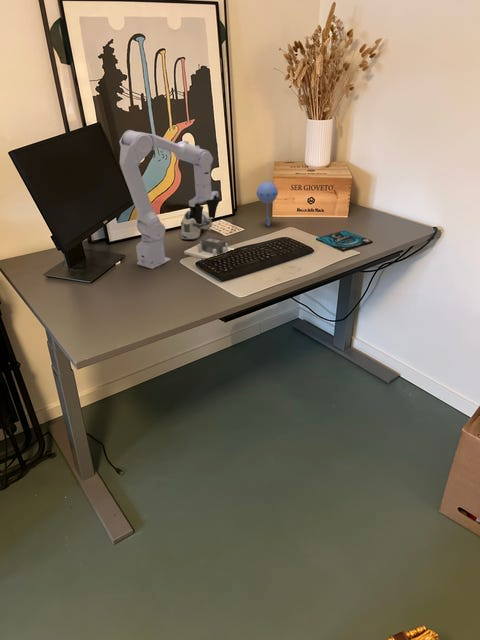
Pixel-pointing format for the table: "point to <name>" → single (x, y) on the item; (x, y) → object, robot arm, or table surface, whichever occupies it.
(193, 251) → the pegged base plate
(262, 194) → the baby rattle
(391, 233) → the table surface
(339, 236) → the guitar string package
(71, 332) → the table surface
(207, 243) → the block
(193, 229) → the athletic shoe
